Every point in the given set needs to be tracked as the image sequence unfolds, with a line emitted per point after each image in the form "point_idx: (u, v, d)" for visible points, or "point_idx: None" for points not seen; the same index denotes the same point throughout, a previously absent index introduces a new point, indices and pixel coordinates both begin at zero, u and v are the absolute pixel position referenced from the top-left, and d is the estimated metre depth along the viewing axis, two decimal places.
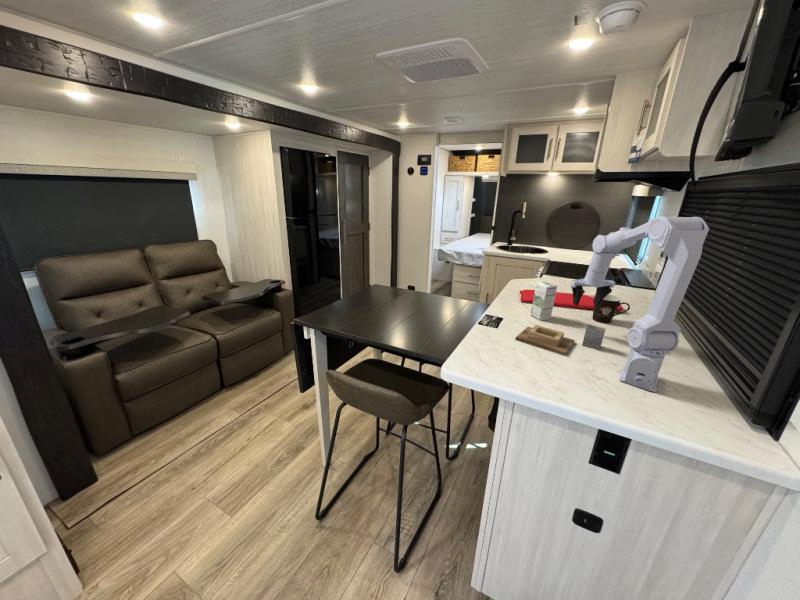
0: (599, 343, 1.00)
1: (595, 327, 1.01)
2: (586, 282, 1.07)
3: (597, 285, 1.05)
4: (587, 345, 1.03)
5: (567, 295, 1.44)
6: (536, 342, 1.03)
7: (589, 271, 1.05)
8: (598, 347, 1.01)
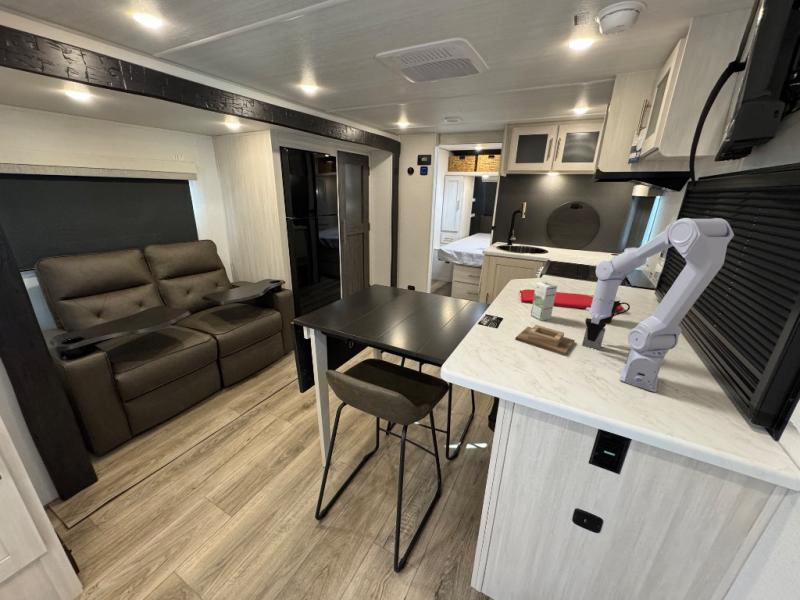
0: (599, 343, 1.00)
1: None
2: (601, 314, 0.97)
3: (610, 314, 0.97)
4: (587, 345, 1.03)
5: (567, 295, 1.44)
6: (536, 342, 1.03)
7: (602, 302, 0.96)
8: (598, 347, 1.01)
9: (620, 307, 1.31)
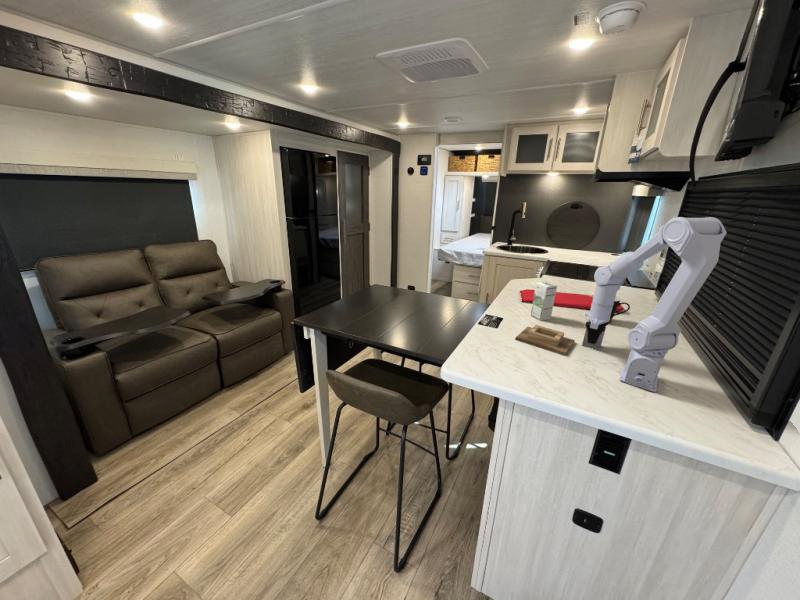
0: (599, 343, 1.00)
1: None
2: (599, 319, 0.97)
3: (609, 319, 0.98)
4: (587, 345, 1.03)
5: (567, 295, 1.44)
6: (536, 342, 1.03)
7: (600, 307, 0.96)
8: (598, 347, 1.01)
9: (620, 307, 1.31)
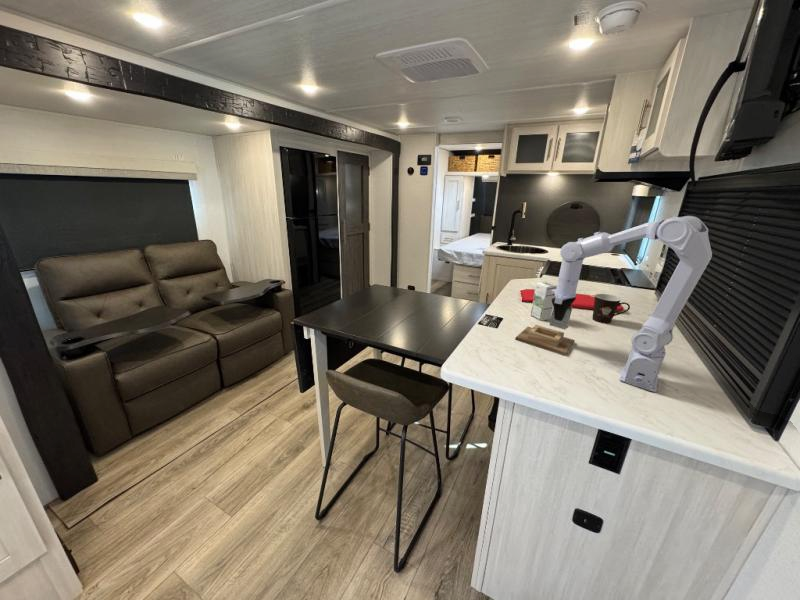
0: (565, 322, 1.00)
1: None
2: (565, 295, 0.97)
3: (575, 295, 0.98)
4: (554, 324, 1.03)
5: None
6: (536, 342, 1.03)
7: (565, 283, 0.96)
8: (564, 326, 1.01)
9: (620, 307, 1.31)
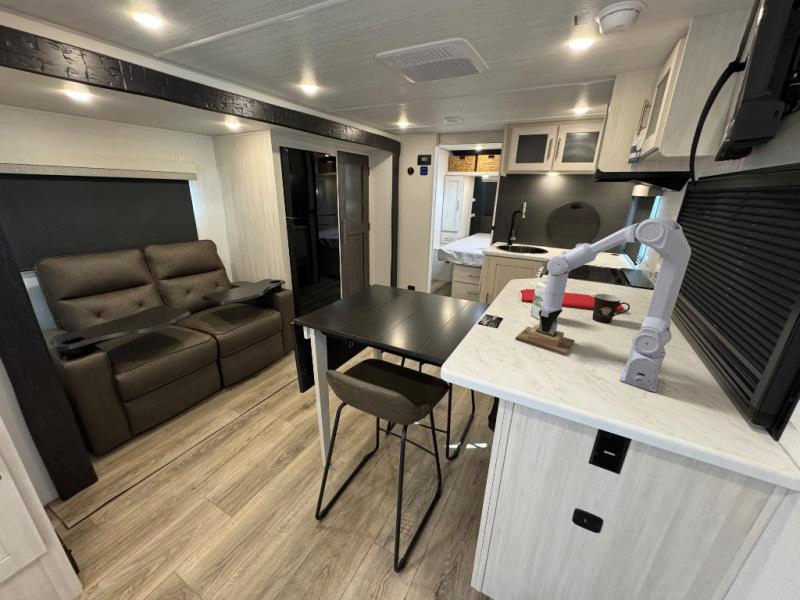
0: (552, 335, 1.03)
1: None
2: (551, 307, 0.99)
3: (561, 307, 1.00)
4: None
5: (568, 295, 1.44)
6: (536, 342, 1.03)
7: (551, 296, 0.98)
8: None
9: (620, 307, 1.31)
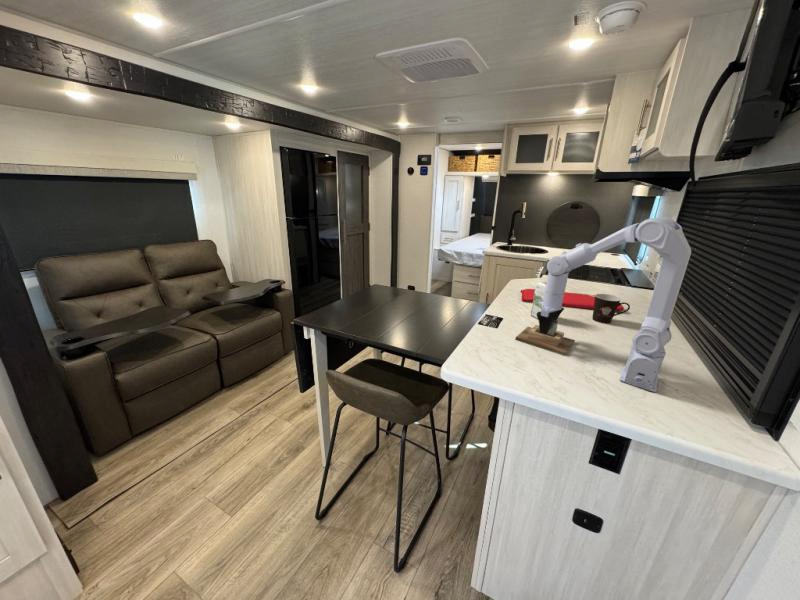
0: (552, 335, 1.03)
1: None
2: (551, 307, 0.99)
3: (561, 307, 1.00)
4: None
5: (568, 295, 1.45)
6: (536, 342, 1.03)
7: (551, 296, 0.98)
8: None
9: (621, 307, 1.32)
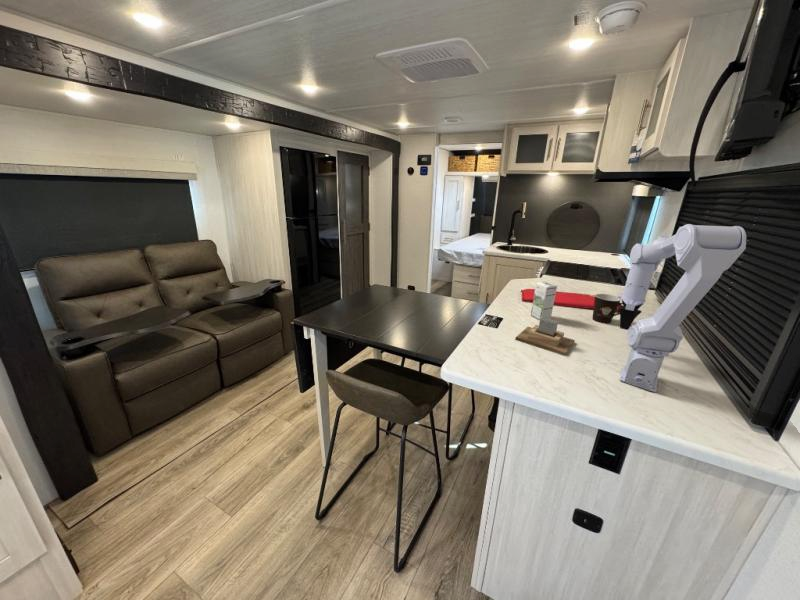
0: (552, 335, 1.03)
1: (548, 320, 1.04)
2: (635, 301, 0.92)
3: (645, 300, 0.93)
4: None
5: (568, 295, 1.45)
6: (536, 342, 1.03)
7: (636, 288, 0.91)
8: None
9: None
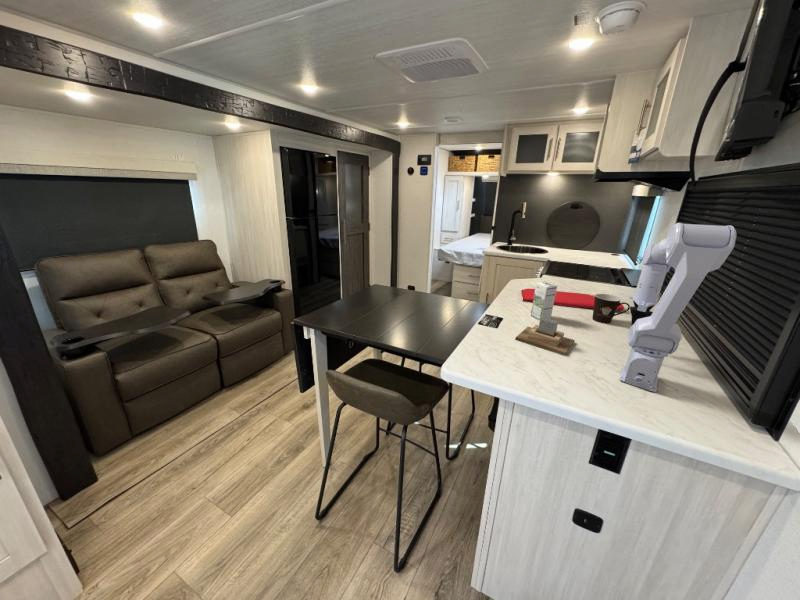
0: (552, 335, 1.03)
1: (548, 320, 1.04)
2: (647, 302, 0.91)
3: (657, 301, 0.92)
4: None
5: (568, 294, 1.45)
6: (536, 342, 1.03)
7: (648, 289, 0.90)
8: None
9: (621, 306, 1.32)
